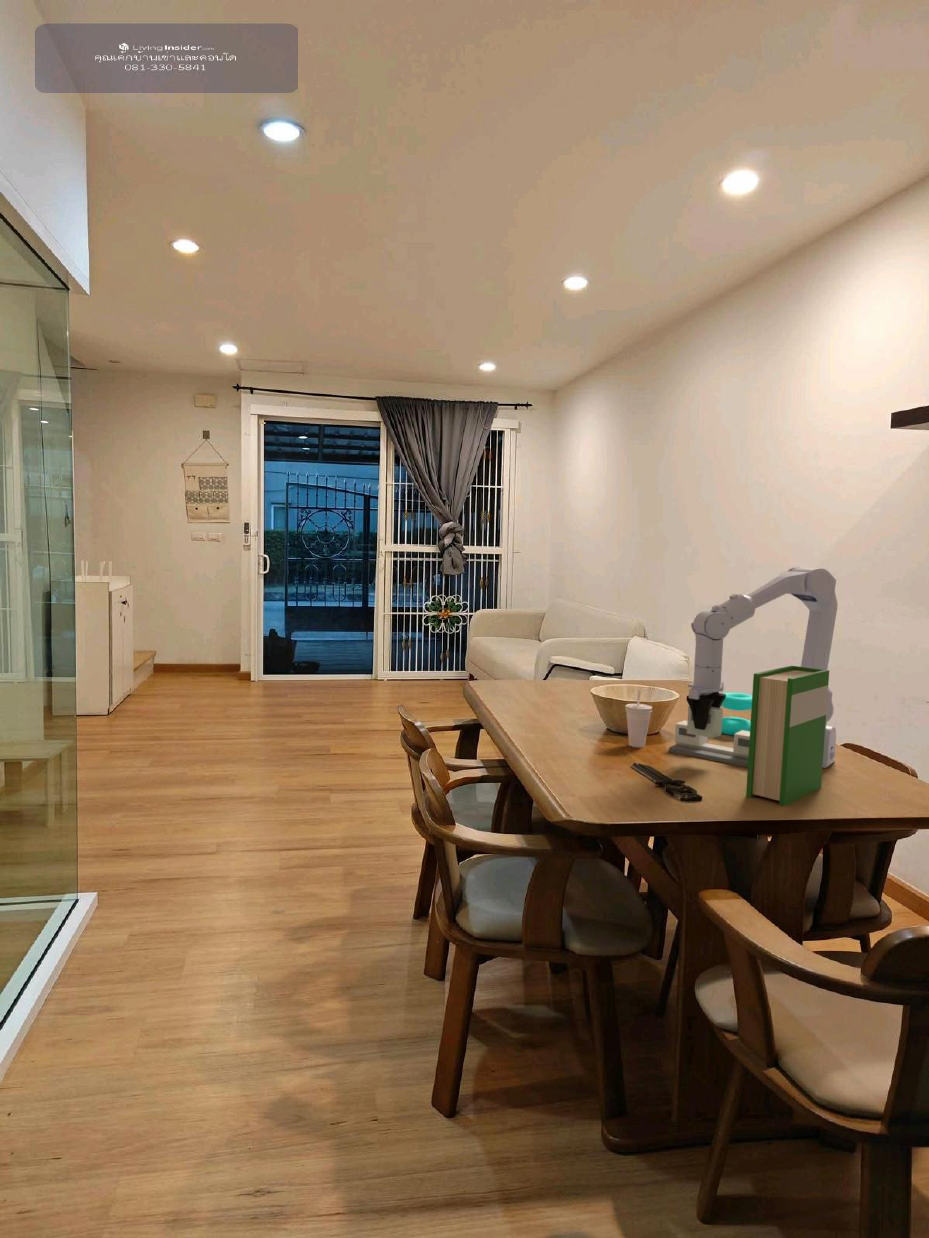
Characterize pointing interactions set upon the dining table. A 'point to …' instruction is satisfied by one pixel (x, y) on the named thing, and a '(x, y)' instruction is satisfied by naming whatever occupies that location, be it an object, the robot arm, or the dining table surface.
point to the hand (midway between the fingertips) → (704, 727)
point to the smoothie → (638, 722)
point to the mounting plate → (711, 746)
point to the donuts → (741, 704)
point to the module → (712, 723)
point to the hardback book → (787, 733)
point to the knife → (664, 781)
